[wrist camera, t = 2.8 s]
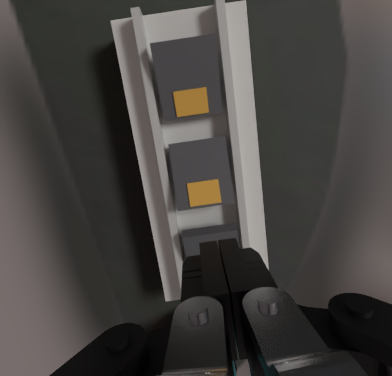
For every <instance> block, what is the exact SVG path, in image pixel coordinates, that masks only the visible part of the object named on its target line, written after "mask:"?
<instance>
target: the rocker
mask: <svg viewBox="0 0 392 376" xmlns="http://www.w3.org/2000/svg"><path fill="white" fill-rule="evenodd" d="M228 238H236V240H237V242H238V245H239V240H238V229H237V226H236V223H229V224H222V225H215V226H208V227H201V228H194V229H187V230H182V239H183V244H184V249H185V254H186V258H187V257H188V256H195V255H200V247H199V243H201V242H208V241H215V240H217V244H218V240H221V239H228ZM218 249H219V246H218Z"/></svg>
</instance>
